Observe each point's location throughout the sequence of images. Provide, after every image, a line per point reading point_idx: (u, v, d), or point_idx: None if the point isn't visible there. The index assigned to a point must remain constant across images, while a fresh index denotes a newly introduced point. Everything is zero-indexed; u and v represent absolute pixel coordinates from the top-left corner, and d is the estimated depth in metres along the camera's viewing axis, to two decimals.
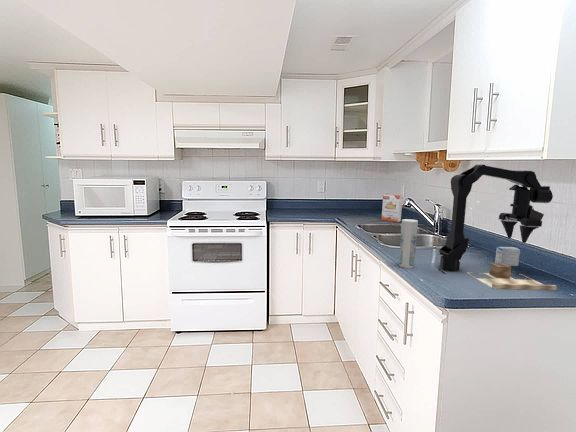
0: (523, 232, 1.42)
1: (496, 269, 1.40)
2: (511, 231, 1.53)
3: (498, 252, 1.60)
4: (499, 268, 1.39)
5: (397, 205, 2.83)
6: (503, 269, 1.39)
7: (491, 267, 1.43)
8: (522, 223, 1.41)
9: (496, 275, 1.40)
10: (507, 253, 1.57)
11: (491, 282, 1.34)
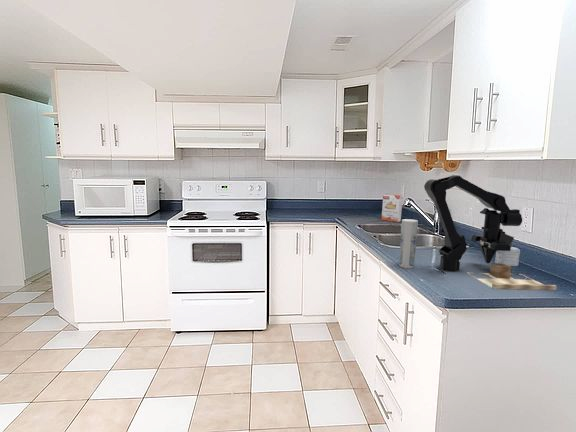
0: (487, 253, 1.47)
1: (496, 269, 1.40)
2: None
3: (498, 252, 1.60)
4: (499, 268, 1.39)
5: (397, 205, 2.83)
6: (503, 269, 1.39)
7: (491, 267, 1.43)
8: (491, 247, 1.42)
9: (496, 275, 1.40)
10: (507, 253, 1.57)
11: (491, 282, 1.34)
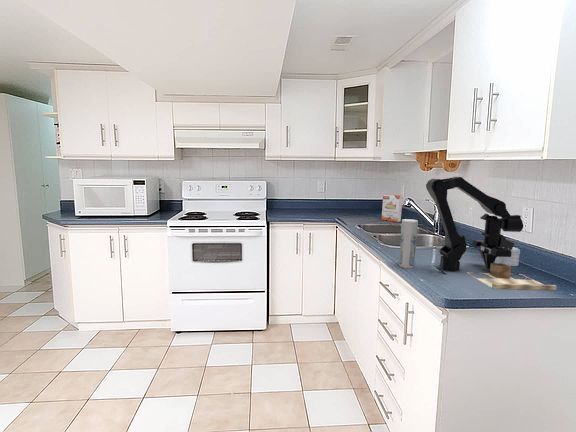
0: (487, 259, 1.47)
1: (496, 269, 1.40)
2: None
3: None
4: (499, 268, 1.39)
5: (397, 205, 2.83)
6: (503, 269, 1.39)
7: (491, 267, 1.43)
8: (492, 253, 1.41)
9: (496, 275, 1.40)
10: None
11: (491, 282, 1.34)
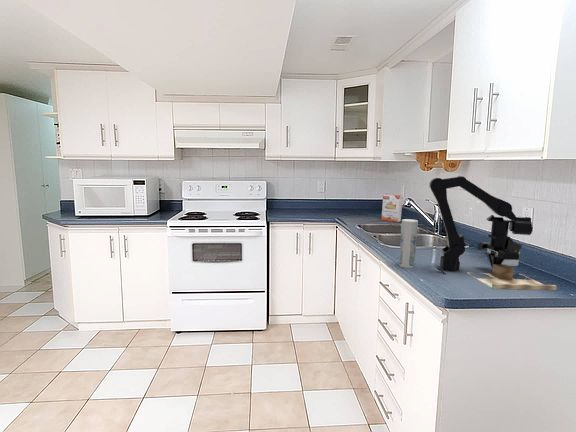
0: (494, 262, 1.43)
1: (498, 270, 1.38)
2: None
3: None
4: (501, 269, 1.37)
5: (397, 205, 2.83)
6: (505, 270, 1.37)
7: (493, 268, 1.42)
8: (499, 256, 1.37)
9: (498, 276, 1.38)
10: None
11: (491, 282, 1.34)
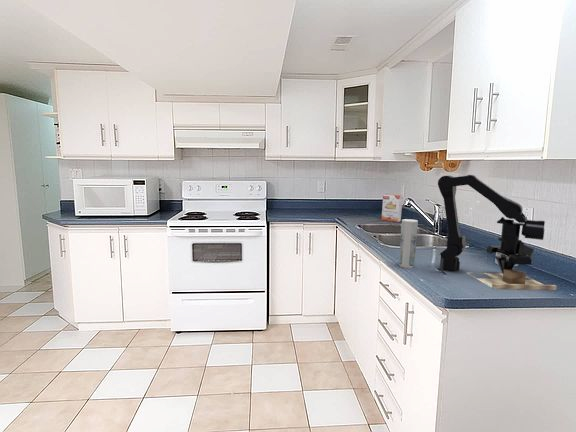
0: (505, 266, 1.36)
1: (510, 275, 1.31)
2: None
3: None
4: (513, 274, 1.31)
5: (397, 205, 2.83)
6: (518, 276, 1.31)
7: (504, 273, 1.35)
8: (511, 261, 1.30)
9: (510, 282, 1.31)
10: None
11: (491, 282, 1.34)
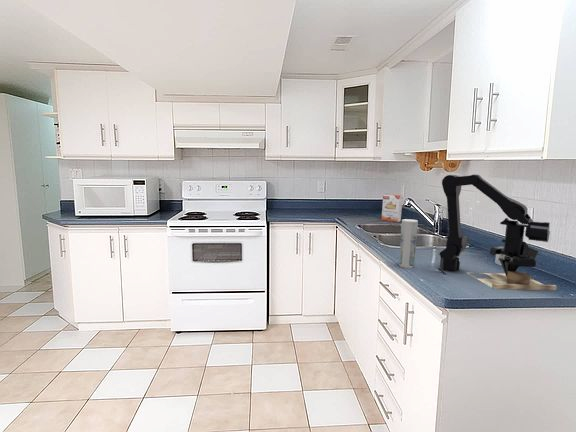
0: (508, 268, 1.33)
1: (514, 278, 1.29)
2: None
3: None
4: (517, 277, 1.28)
5: (397, 205, 2.83)
6: (522, 278, 1.28)
7: (508, 275, 1.32)
8: (515, 263, 1.28)
9: None
10: None
11: (491, 282, 1.34)
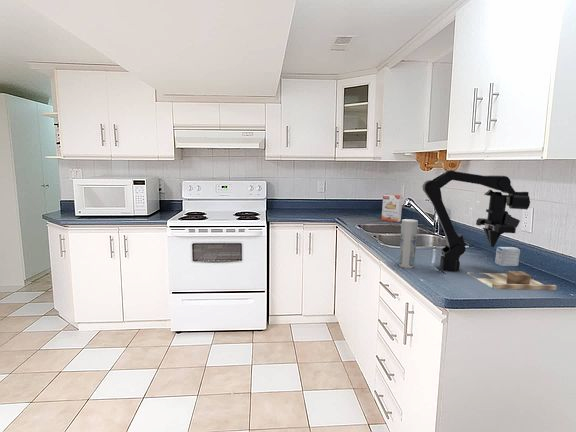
0: (491, 236, 1.43)
1: (514, 278, 1.29)
2: None
3: (498, 252, 1.60)
4: (517, 277, 1.28)
5: (397, 205, 2.83)
6: (522, 278, 1.28)
7: (508, 275, 1.32)
8: (495, 229, 1.37)
9: None
10: (507, 253, 1.57)
11: (491, 282, 1.34)
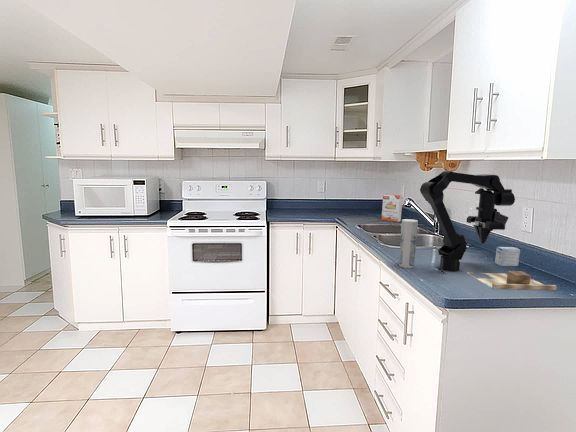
0: (481, 233, 1.48)
1: (514, 278, 1.29)
2: None
3: (498, 252, 1.60)
4: (517, 277, 1.28)
5: (397, 205, 2.83)
6: (522, 278, 1.28)
7: (508, 275, 1.32)
8: (486, 226, 1.43)
9: None
10: (507, 253, 1.57)
11: (491, 282, 1.34)
